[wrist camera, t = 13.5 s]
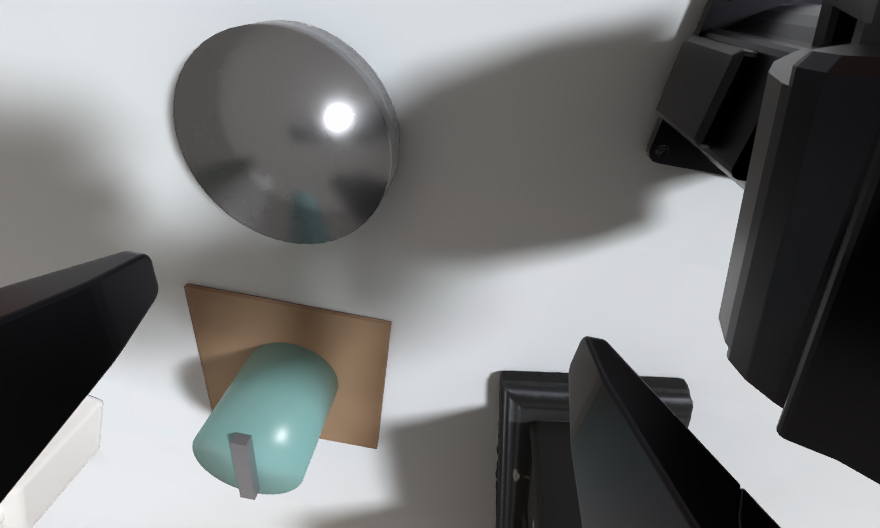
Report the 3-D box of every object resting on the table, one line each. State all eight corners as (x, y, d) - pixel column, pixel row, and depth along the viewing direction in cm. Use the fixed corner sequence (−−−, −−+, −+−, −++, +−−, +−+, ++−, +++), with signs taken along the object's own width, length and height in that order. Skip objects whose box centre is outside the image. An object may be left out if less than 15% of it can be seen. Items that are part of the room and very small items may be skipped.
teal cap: (337, 415, 30) (301, 513, 24) (251, 398, 30) (195, 493, 24) (339, 352, 26) (297, 449, 21) (242, 334, 27) (175, 426, 21)
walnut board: (391, 321, 25) (390, 325, 25) (377, 445, 32) (376, 449, 31) (187, 283, 25) (184, 286, 25) (215, 414, 32) (213, 418, 32)
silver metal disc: (409, 41, 17) (400, 48, 15) (390, 238, 22) (382, 259, 20) (184, 1, 17) (151, 3, 16) (216, 206, 22) (193, 224, 20)
